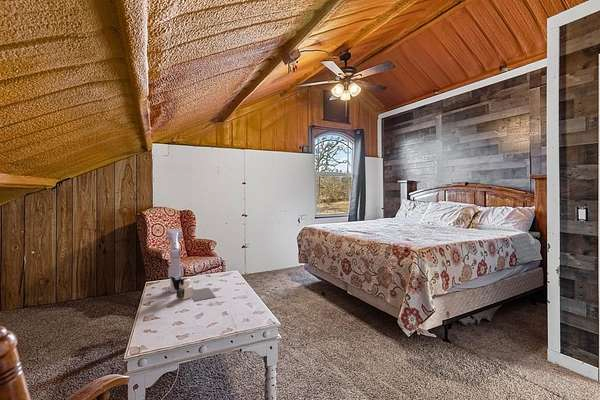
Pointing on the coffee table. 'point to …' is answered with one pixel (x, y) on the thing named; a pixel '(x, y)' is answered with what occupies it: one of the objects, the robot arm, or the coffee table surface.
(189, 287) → the medicine box
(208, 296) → the grey flat slab
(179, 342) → the coffee table surface
